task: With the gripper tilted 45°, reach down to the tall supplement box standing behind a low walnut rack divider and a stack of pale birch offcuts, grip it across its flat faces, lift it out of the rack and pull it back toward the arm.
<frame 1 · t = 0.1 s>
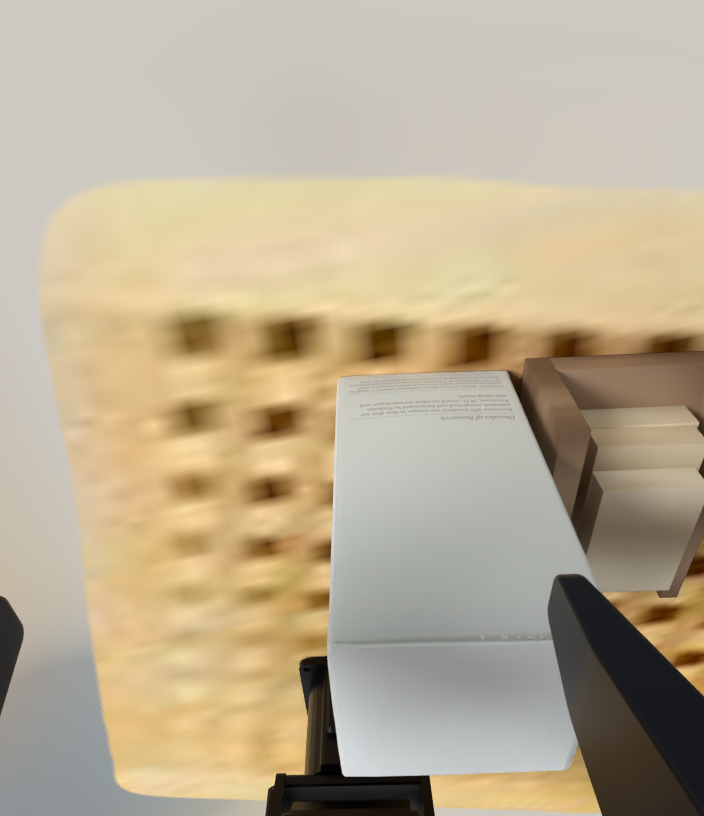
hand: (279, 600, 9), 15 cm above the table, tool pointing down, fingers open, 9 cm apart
offcut stack: (609, 479, 26), point 1 cm above the table, touching walnut rack
walnut rack: (507, 485, 28), on the table
supplement box: (419, 436, 26), on the table
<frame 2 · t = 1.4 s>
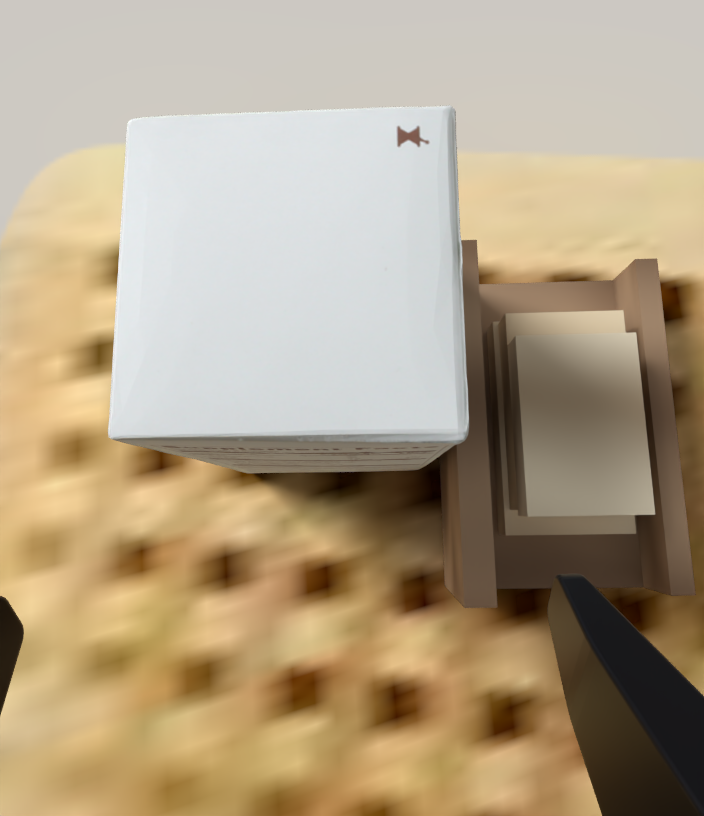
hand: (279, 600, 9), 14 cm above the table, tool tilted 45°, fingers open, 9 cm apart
offcut stack: (552, 428, 22), point 1 cm above the table, touching walnut rack
walnut rack: (439, 458, 23), on the table
supplement box: (333, 389, 24), on the table
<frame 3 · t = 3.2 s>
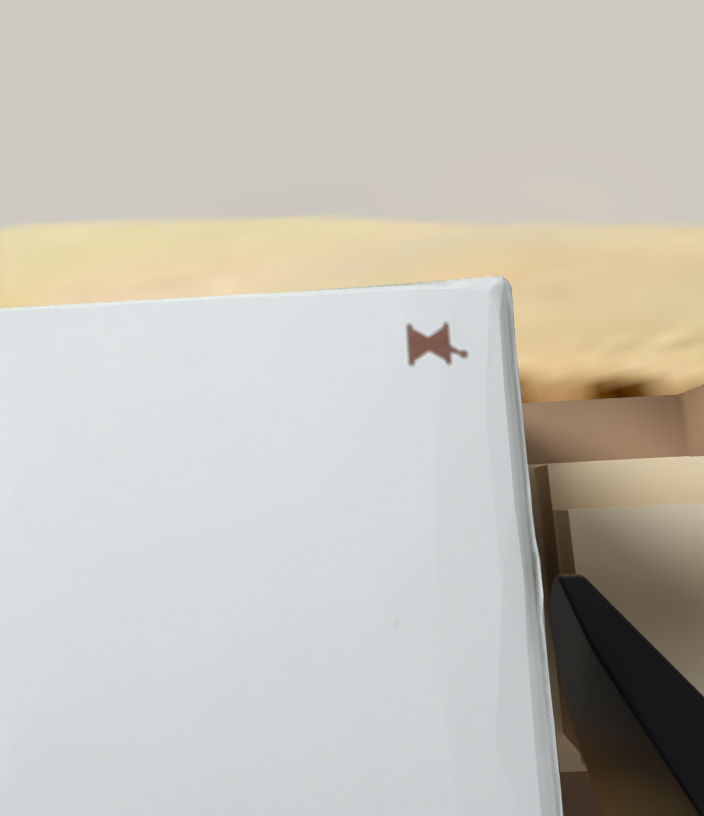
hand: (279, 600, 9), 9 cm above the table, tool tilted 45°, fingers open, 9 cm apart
offcut stack: (609, 600, 17), point 1 cm above the table, touching walnut rack
walnut rack: (460, 636, 18), on the table
supplement box: (318, 543, 18), on the table
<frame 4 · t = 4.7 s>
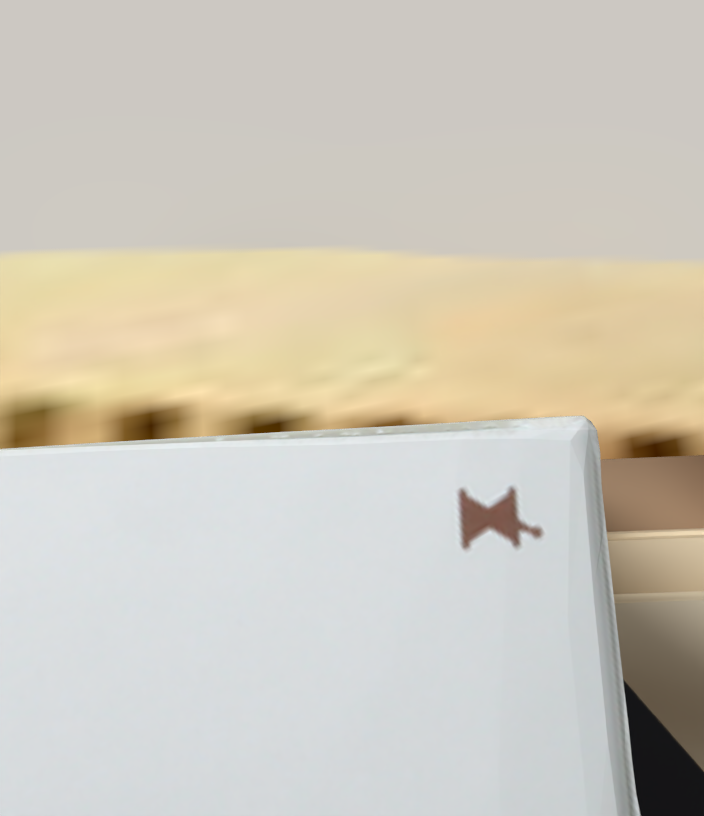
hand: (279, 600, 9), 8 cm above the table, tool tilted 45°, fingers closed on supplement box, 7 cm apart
offcut stack: (646, 686, 15), point 1 cm above the table, touching walnut rack
walnut rack: (478, 718, 16), on the table
supplement box: (322, 610, 17), on the table, touching gripper
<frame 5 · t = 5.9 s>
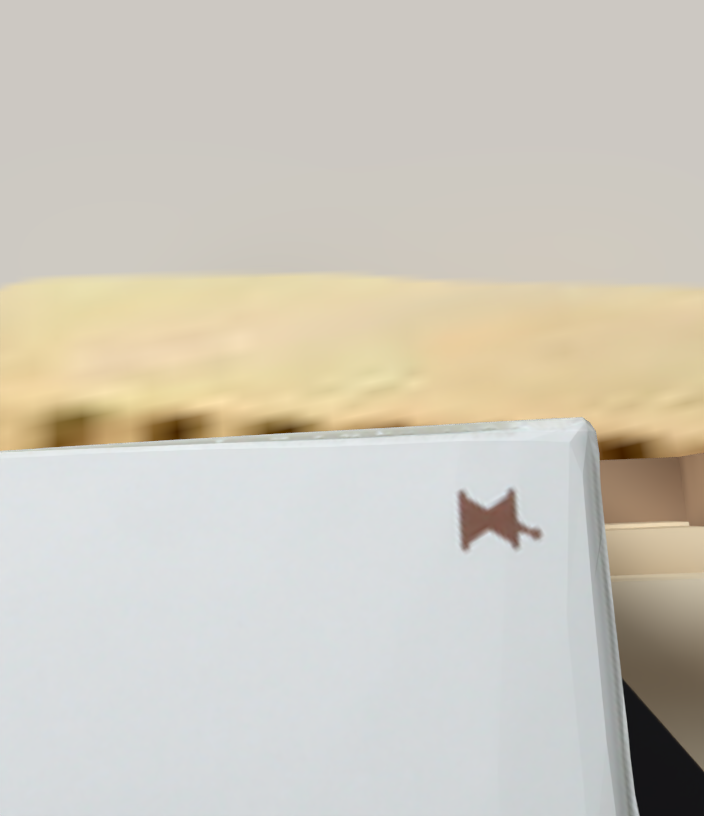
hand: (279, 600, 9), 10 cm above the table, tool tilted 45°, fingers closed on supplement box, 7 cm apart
offcut stack: (609, 657, 17), point 1 cm above the table, touching walnut rack
walnut rack: (465, 687, 18), on the table
supplement box: (322, 608, 17), point 2 cm above the table, touching gripper
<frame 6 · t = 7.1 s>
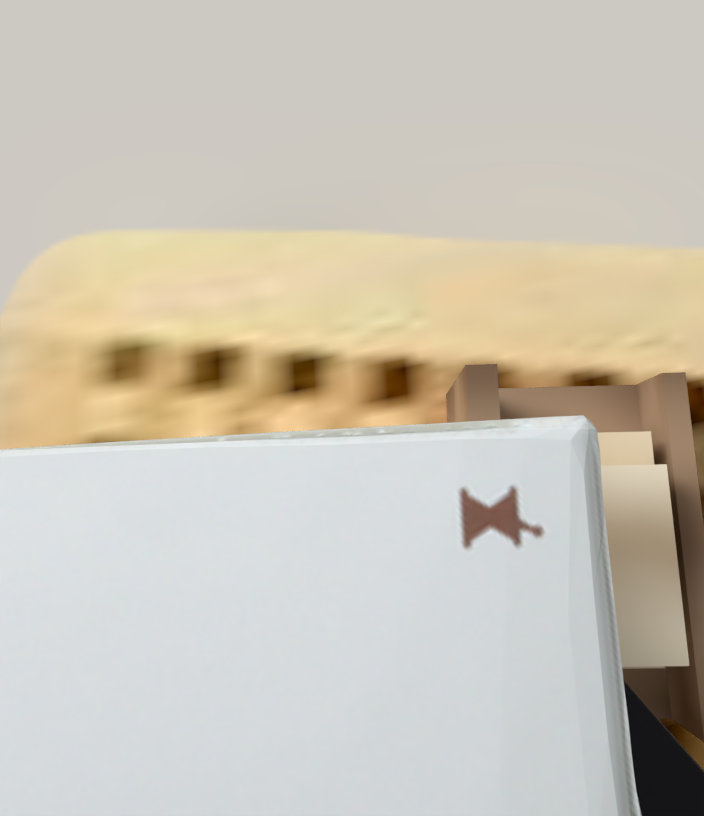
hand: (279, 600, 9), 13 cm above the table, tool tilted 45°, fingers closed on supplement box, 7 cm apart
offcut stack: (573, 545, 21), point 1 cm above the table, touching walnut rack
walnut rack: (454, 571, 22), on the table
supplement box: (321, 608, 17), point 5 cm above the table, touching gripper
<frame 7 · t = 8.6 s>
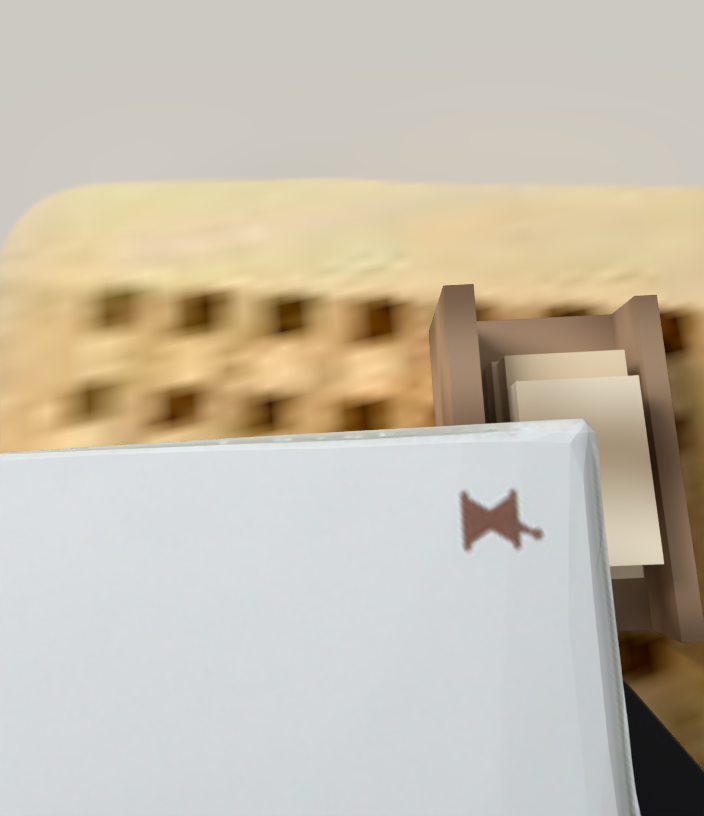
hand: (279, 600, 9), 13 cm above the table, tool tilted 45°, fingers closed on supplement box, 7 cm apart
offcut stack: (554, 468, 22), point 1 cm above the table, touching walnut rack
walnut rack: (440, 500, 23), on the table
supplement box: (321, 609, 17), point 6 cm above the table, touching gripper
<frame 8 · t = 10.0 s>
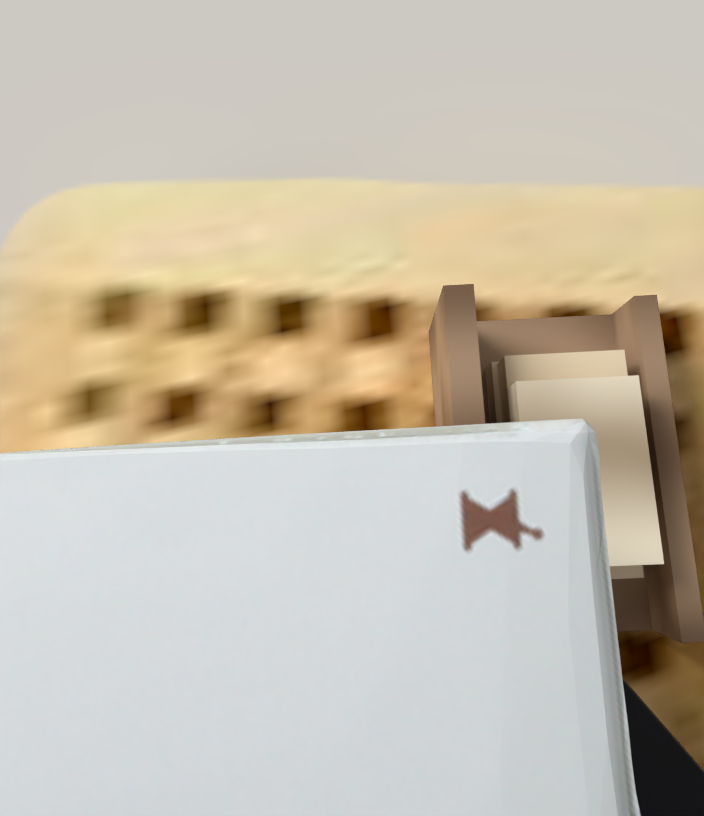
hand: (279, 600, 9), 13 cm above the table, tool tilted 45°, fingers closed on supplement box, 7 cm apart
offcut stack: (554, 468, 22), point 1 cm above the table, touching walnut rack
walnut rack: (440, 500, 23), on the table
supplement box: (321, 609, 17), point 6 cm above the table, touching gripper
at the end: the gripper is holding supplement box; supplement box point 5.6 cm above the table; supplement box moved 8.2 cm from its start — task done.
